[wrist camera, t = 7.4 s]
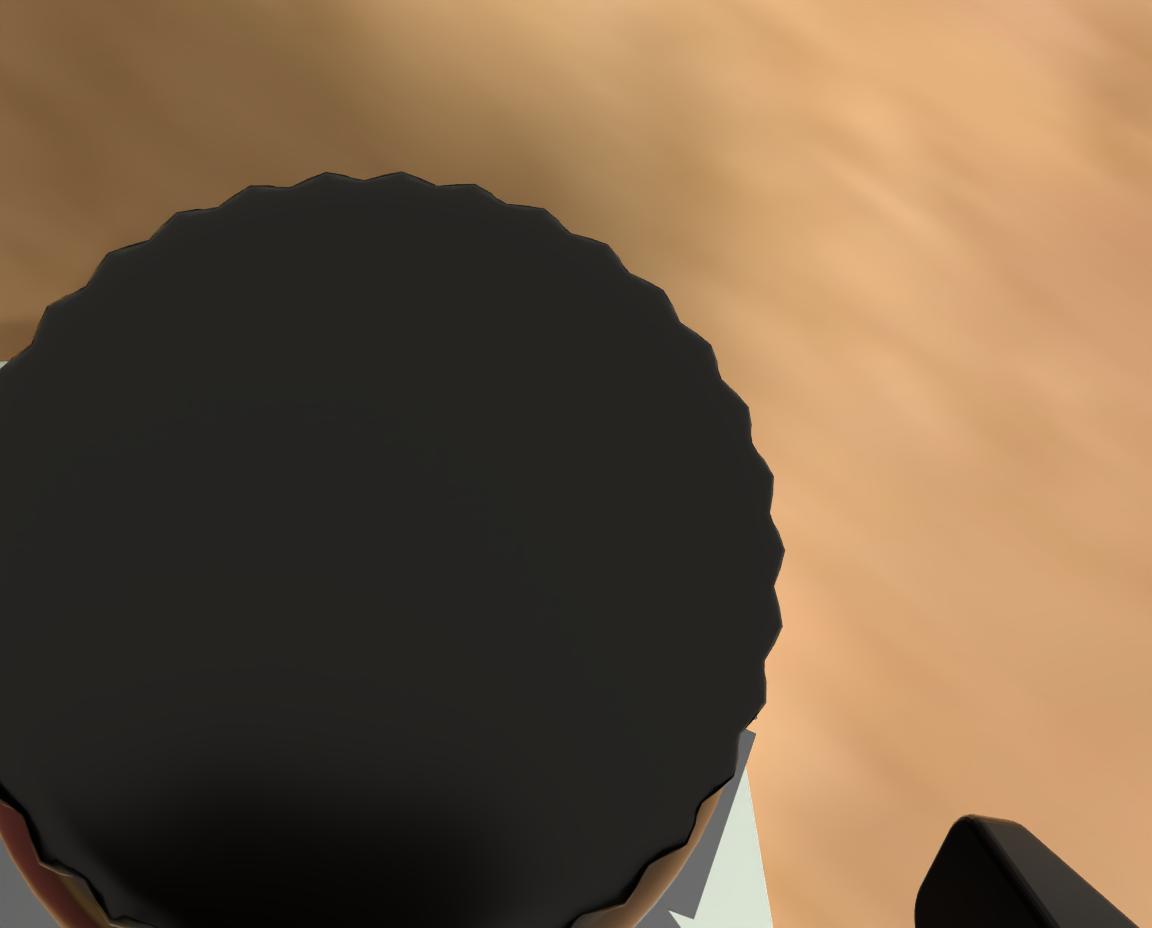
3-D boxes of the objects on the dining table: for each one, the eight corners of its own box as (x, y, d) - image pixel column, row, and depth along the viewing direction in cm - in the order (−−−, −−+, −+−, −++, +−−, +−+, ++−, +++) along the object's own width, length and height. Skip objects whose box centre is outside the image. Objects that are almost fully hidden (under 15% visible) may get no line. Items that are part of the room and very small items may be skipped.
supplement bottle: (71, 623, 17) (-523, 266, 6) (452, 425, 19) (577, -125, 8) (282, 1030, 16) (68, 1609, 4) (663, 773, 18) (1170, 726, 7)
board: (-22, 1172, 15) (-47, 1196, 15) (-10, 385, 19) (-30, 363, 18) (768, 1018, 18) (790, 1030, 17) (658, 348, 21) (671, 328, 20)
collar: (14, 1122, 15) (-69, 1197, 12) (19, 403, 18) (-46, 327, 15) (736, 987, 17) (809, 1024, 14) (639, 367, 20) (683, 296, 17)
